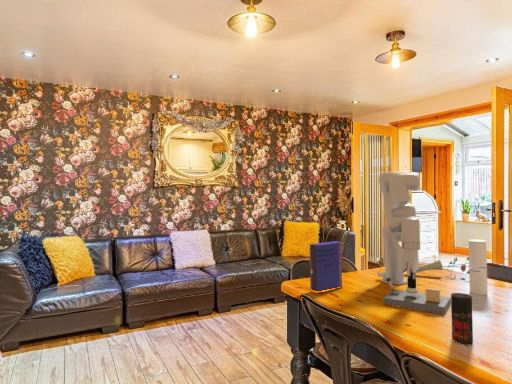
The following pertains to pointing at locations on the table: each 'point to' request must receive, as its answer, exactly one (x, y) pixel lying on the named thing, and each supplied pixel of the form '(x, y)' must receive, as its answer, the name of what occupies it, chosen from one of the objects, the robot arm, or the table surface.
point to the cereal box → (325, 265)
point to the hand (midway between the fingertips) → (411, 287)
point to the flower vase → (440, 266)
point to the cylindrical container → (478, 267)
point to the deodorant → (462, 318)
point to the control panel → (417, 301)
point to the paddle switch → (433, 295)
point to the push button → (411, 290)
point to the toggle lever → (390, 283)
